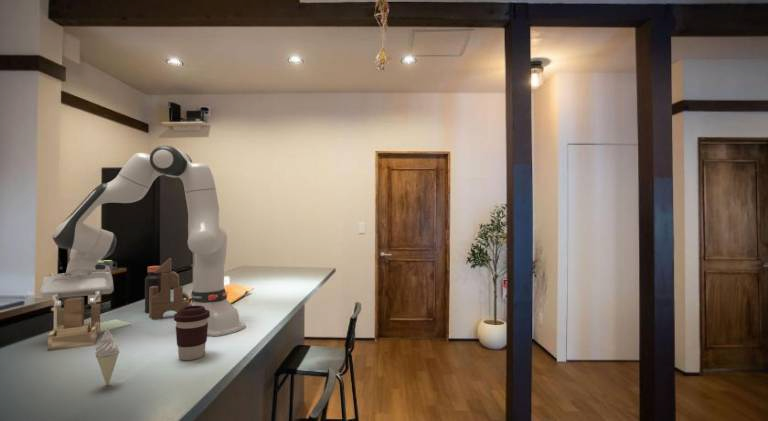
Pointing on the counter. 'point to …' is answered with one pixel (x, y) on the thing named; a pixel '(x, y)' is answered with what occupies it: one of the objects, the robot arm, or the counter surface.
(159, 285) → the bottle
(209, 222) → the robot arm
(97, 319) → the tan piece
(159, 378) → the counter surface
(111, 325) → the pad
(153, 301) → the wooden toy
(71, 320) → the block
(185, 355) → the coffee cup
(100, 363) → the ice cream cone
